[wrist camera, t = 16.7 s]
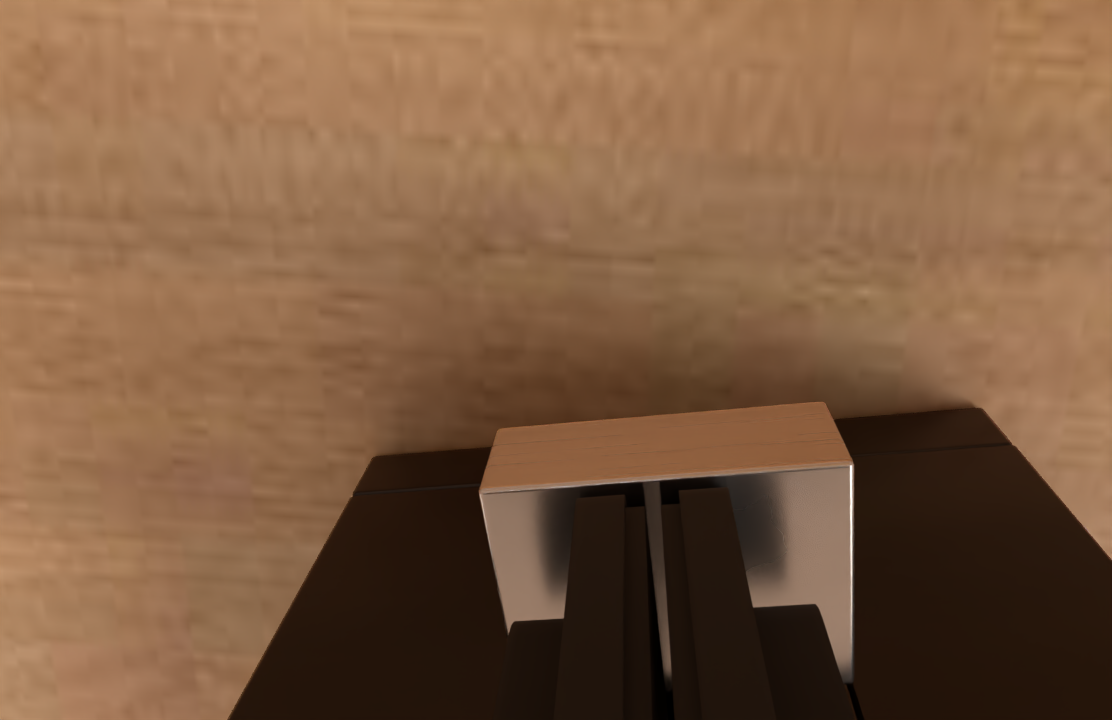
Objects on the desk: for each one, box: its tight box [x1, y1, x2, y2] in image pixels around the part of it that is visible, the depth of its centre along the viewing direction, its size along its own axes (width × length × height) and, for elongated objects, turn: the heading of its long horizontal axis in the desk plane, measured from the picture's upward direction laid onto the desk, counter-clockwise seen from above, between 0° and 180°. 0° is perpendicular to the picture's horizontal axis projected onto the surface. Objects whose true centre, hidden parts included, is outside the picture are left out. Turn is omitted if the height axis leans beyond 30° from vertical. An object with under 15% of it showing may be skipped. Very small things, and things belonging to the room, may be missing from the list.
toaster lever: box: [479, 402, 855, 692], centre depth 10 cm, size 4×3×2 cm
